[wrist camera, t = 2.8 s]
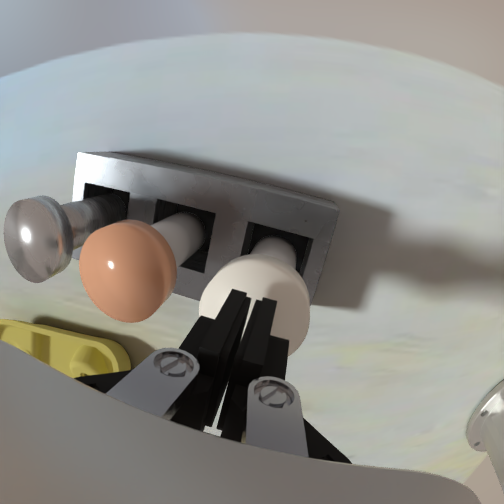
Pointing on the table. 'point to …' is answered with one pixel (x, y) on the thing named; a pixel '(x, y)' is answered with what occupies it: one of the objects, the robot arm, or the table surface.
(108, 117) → the table surface
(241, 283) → the ivory plunger
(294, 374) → the table surface
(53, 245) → the grey plunger
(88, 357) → the plastic component
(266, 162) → the table surface
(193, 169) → the grey socket block
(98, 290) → the terracotta plunger
